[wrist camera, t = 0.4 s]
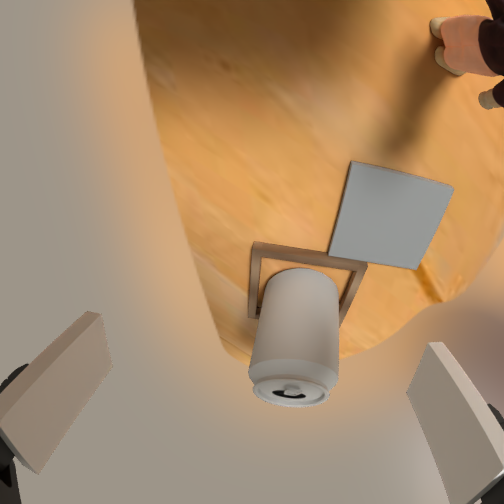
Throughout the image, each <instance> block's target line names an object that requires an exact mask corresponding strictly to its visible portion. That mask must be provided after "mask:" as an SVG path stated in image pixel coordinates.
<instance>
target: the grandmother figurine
mask: <svg viewBox="0 0 504 504" xmlns="http://www.w3.org/2000/svg"><path fill="white" fill-rule="evenodd" d="M486 2H487V4H488V6H489V8H490V11H491V14H492V17H493V19H491V18H489V17H486V16H479V15H461V16H456V17H439V18H433V19H432V20H431V22H430V27H431V31H432V33H433V34H434V35H435V36H436V37H437V38H439V39H443V41H444V44H445V46H439V47H438V48H437V49H436V51H435V60H436V62H437V63H438V64H439V65H440V66H442V67H443V68H445V69H446V70H448V71H450V72H451V73H453V74H455V75H463V74H464V73H466V72H468V73H474V74H479V75H484V76H490V77H495V76H499V75H502V76H504V0H486ZM478 99H479V103H480V105H481V106H482V107H483V108H485V109H492V108H493V107H494V108H498V107H504V79H503V80H502V81H501V82H500V83H498V84H497V85H496V86H494V88H493V89H490V90H488V91H487V92H486V91H484V92H481V93H480V94H479V98H478Z"/></svg>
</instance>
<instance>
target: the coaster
mask: <svg viewBox="0 0 504 504" xmlns="http://www.w3.org/2000/svg"><path fill="white" fill-rule="evenodd" d="M453 191H454V188H453V187H452V186H450V185H447V184H444V183H441V182H437V181H434V180H430V179H427V178H423V177H419V176H416V175H412V174H408V173H404V172H400V171H396V170H392V169H388V168H383V167H379V166H374V165H370V164H365V163H360V162H356V161H351V164H350V169H349V173H348V177H347V182H346V186H345V190H344V194H343V198H342V202H341V206H340V210H339V214H338V217H337V221H336V225H335V229H334V232H333V236H332V240H331V243H330V247H329V250H328V256H334V257H341V258H347V259H353V260H360V261H366V262H372V263H378V264H384V265H391V266H397V267H403V268H409V269H415V270H416V269H417V267H418V266H419V264H420V262H421V260H422V258H423V256H424V254H425V252H426V250H427V248H428V246H429V244H430V242H431V240H432V238H433V236H434V234H435V232H436V230H437V228H438V226H439V224H440V221H441V219H442V217H443V215H444V213H445V210H446V208H447V206H448V203H449V201H450V199H451V196H452V194H453Z"/></svg>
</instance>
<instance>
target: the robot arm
mask: <svg viewBox="0 0 504 504" xmlns="http://www.w3.org/2000/svg"><path fill="white" fill-rule="evenodd" d="M112 367H113V364H112V361H111V356H110V352H109V348H108V343H107V339H106V334H105V329H104V324H103V319H102V314H98V313H94V312H89V311H87V312H85V313H84V314H83V315H82V316H81V317H80V318H79V319H78V320H76V321H75V322H74V323H73V324H72V325H71V326H70V327H69V328H68V329H67V330H65V331H64V332H63V333H62V334H61V335H60V336H59V337H58V338H57V339H56V340H55V341H53V342H52V343H51V344H50V345H49V346H48V347H47V348H46V349H45V350H44V351H43V352H42V353H41V354H40V355H39V356H38V357H36V358H35V359H34V360H33V361H32V362H31V363H30V364H25V365H23V366H21V367H19V368H17V369H16V370H15V371H14V372H12V373H11V374H10V375H9V377H8V379H5V380H4V381H3V383H2V384H1V386H0V504H21V499H20V494H19V488H18V482H17V475H16V468H15V464H14V462H13V460H12V459H13V458H14V456H16V457H17V459H18V460H19V461H20V462H21V463H22V465H23V466H25V467H27V468H28V469H30V470H31V471H33V472H34V473H36V474H38V475H39V473H40V472H41V470H42V469H43V467H44V466H45V464H46V462H47V461H48V459H49V458H50V456H51V455H52V453H53V452H54V450H55V449H56V447H57V446H58V444H59V443H60V441H61V440H62V438H63V437H64V435H65V434H66V432H67V431H68V429H69V428H70V426H71V425H72V424H73V422H74V421H75V419H76V418H77V416H78V415H79V413H80V412H81V411H82V409H83V408H84V406H85V405H86V403H87V402H88V401H89V399H90V398H91V396H92V395H93V394H94V392H95V391H96V389H97V388H98V387H99V385H100V384H101V382H102V381H103V379H104V378H105V377H106V376H107V374H108V373H109V371H110V370H111V369H112ZM406 393H407V395H408V397H409V400H410V402H411V404H412V406H413V409H414V411H415V413H416V415H417V418H418V420H419V423H420V425H421V427H422V430H423V432H424V434H425V437H426V439H427V442H428V444H429V447H430V449H431V452H432V454H433V457H434V459H435V462H436V465H437V467H438V470H439V473H440V475H441V478H442V481H443V484H444V487H445V490H446V493H447V496H448V498H449V502H450V504H474V503H475V502H476V501H477V500H479V499H480V498H481V501H482V503H481V504H504V419H503V417H502V416H501V414H500V413H499V411H498V410H496V409H495V408H494V407H493V406H492V405H491V404H486V402H485V401H484V399H483V398H482V397H481V395H480V393H479V392H478V390H477V389H476V387H475V386H474V385H473V383H472V382H471V381H470V379H469V377H468V376H467V375H466V373H465V372H464V370H463V369H462V368H461V366H460V365H459V363H458V362H457V361H456V359H455V358H454V357H453V355H452V354H451V353H450V351H449V350H448V349H447V348H446V346H445V345H444V344H443V343H442V342H430V343H428V344H427V347H426V349H425V352H424V354H423V356H422V359H421V361H420V364H419V366H418V368H417V371H416V373H415V375H414V377H413V379H412V382H411V384H410V386H409V388H408V390H407V392H406Z"/></svg>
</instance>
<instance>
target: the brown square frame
mask: <svg viewBox="0 0 504 504" xmlns="http://www.w3.org/2000/svg"><path fill="white" fill-rule="evenodd" d="M262 257H267V258H274V259H280V260H287V261H293V262H299V263H306V264H312V265H319V266H325V267H332V268H338V269H345V270H351V271H353V274H352V276H351V279H350V281H349V284H348V286H347V288H346V291H345V293H344V296H343V298H342V300H341V303H340V305H339V328H340V326H341V324H342V322H343V320H344V318H345V316H346V313H347V311H348V309H349V307H350V305H351V303H352V301H353V299H354V296H355V294H356V292H357V290H358V288H359V285H360V283H361V281H362V279H363V276H364V274H365V272H366V269H367V267H368V265H367V262H366V261H360V260H353V259H347V258H341V257H334V256H328V253H326V252H320V251H313V250H307V249H301V248H294V247H288V246H281V245H275V244H268V243H262V242H255V241H254V244H253V248H252V262H251V279H250V295H249V311H248V318H254V319H259V318H260V313H261V308H257V301H258V290H259V280H260V269H261V258H262Z"/></svg>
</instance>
